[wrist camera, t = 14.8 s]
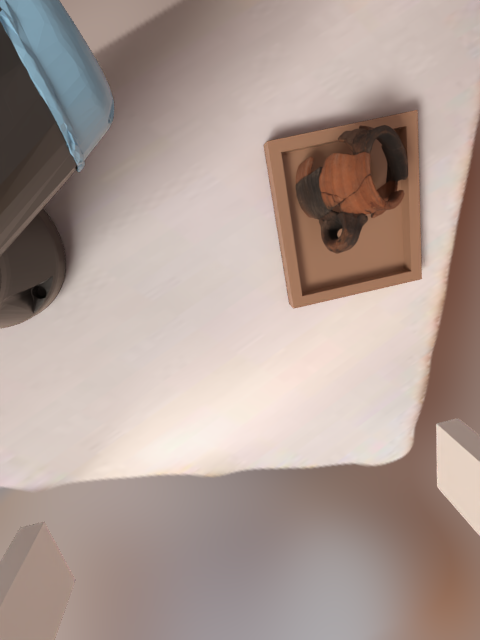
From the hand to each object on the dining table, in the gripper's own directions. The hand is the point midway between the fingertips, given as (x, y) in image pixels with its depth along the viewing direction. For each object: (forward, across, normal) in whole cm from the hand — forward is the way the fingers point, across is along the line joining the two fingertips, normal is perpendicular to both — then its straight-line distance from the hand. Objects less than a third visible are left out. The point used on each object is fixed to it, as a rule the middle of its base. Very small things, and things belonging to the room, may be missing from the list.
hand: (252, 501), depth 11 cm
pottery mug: (+28, +15, +8) cm, 33 cm away
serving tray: (+29, +16, +6) cm, 33 cm away
